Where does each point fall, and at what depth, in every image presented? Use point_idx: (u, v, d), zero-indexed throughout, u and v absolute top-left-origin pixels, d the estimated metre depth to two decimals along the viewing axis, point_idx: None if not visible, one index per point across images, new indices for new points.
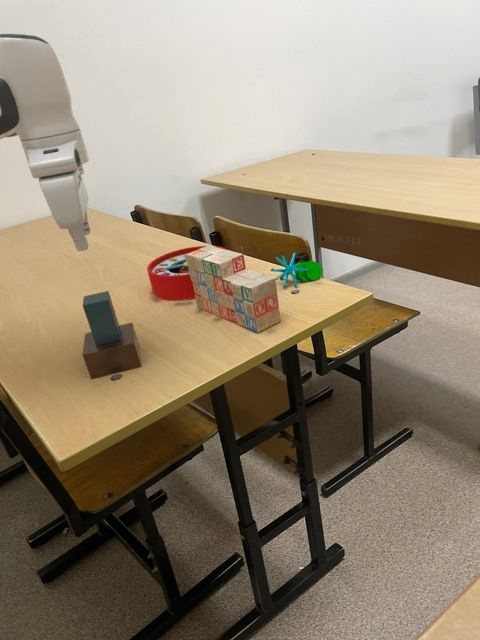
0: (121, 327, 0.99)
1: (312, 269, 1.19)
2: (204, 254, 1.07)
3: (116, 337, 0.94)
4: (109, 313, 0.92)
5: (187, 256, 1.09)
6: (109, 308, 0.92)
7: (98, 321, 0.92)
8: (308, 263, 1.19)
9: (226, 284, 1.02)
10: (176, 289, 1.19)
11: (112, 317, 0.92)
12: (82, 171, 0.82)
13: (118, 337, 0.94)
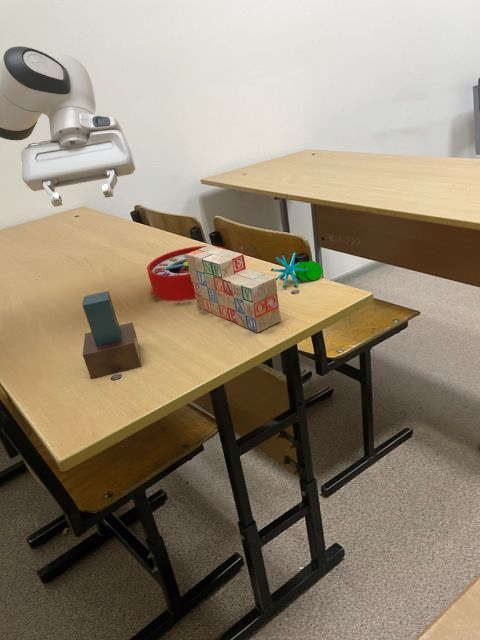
0: (121, 327, 0.99)
1: (312, 269, 1.19)
2: (204, 254, 1.07)
3: (116, 337, 0.94)
4: (109, 313, 0.92)
5: (187, 256, 1.09)
6: (109, 308, 0.92)
7: (98, 321, 0.92)
8: (308, 263, 1.19)
9: (226, 284, 1.02)
10: (176, 289, 1.19)
11: (112, 317, 0.92)
12: None
13: (118, 337, 0.94)
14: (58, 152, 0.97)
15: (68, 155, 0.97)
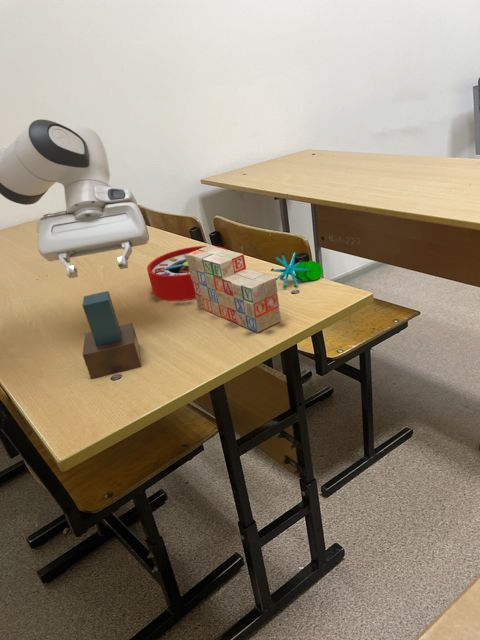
0: (121, 327, 0.99)
1: (312, 269, 1.19)
2: (204, 254, 1.07)
3: (116, 337, 0.94)
4: (109, 313, 0.92)
5: (187, 256, 1.09)
6: (109, 308, 0.92)
7: (98, 321, 0.92)
8: (308, 263, 1.19)
9: (226, 284, 1.02)
10: (176, 289, 1.19)
11: (112, 317, 0.92)
12: None
13: (118, 337, 0.94)
14: (74, 224, 0.99)
15: (83, 227, 0.98)
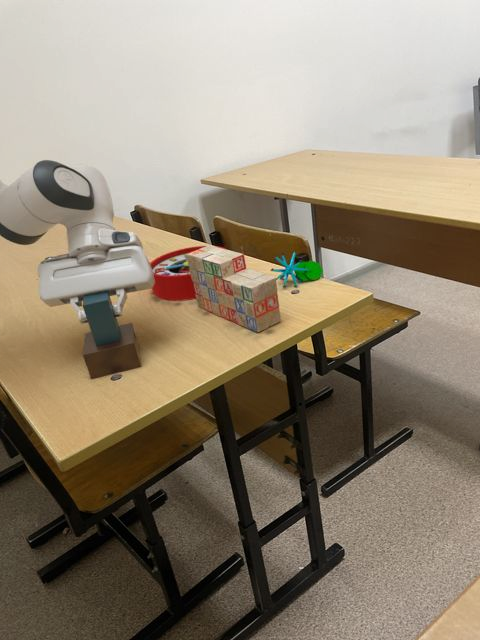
0: (121, 327, 0.99)
1: (312, 269, 1.19)
2: (204, 253, 1.07)
3: (116, 337, 0.94)
4: (109, 313, 0.92)
5: (188, 256, 1.09)
6: (109, 308, 0.92)
7: (98, 321, 0.92)
8: (308, 263, 1.19)
9: (226, 284, 1.02)
10: (176, 289, 1.19)
11: (112, 317, 0.92)
12: None
13: (118, 337, 0.94)
14: (76, 268, 0.95)
15: (86, 272, 0.94)
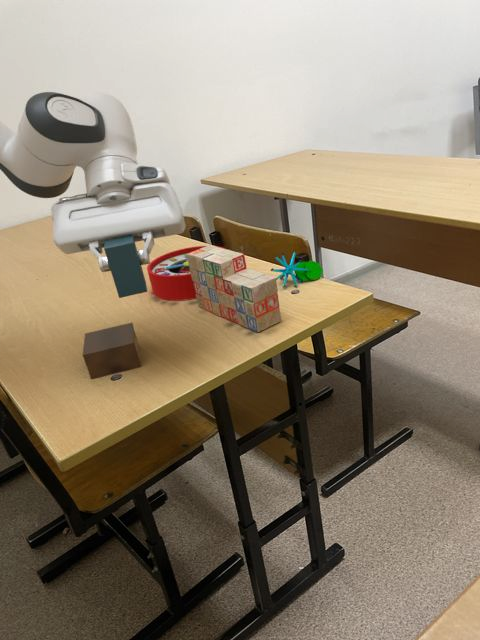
0: (121, 327, 0.99)
1: (312, 269, 1.19)
2: (204, 253, 1.07)
3: (142, 288, 0.82)
4: (135, 259, 0.79)
5: (188, 256, 1.09)
6: (135, 253, 0.79)
7: (122, 268, 0.79)
8: (308, 263, 1.19)
9: (227, 284, 1.02)
10: (176, 289, 1.19)
11: (138, 264, 0.80)
12: None
13: (144, 288, 0.82)
14: (96, 209, 0.82)
15: (108, 213, 0.82)
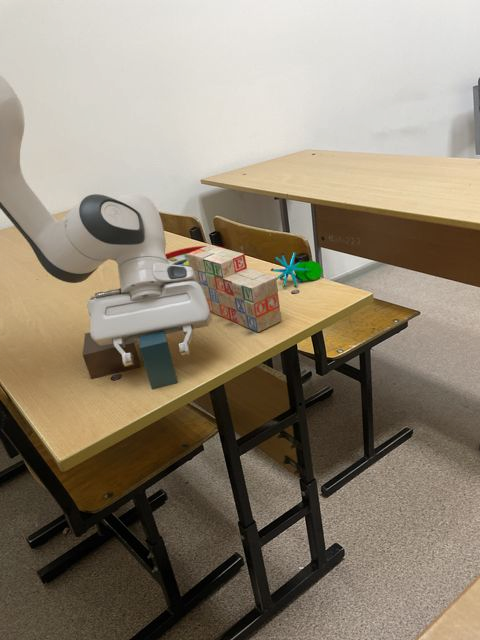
0: None
1: (312, 269, 1.19)
2: (205, 253, 1.07)
3: (172, 380, 0.88)
4: (167, 355, 0.86)
5: (188, 255, 1.09)
6: (167, 350, 0.86)
7: (155, 363, 0.86)
8: (308, 263, 1.19)
9: (227, 284, 1.02)
10: None
11: (170, 359, 0.87)
12: None
13: (175, 380, 0.88)
14: (129, 305, 0.89)
15: (140, 309, 0.88)
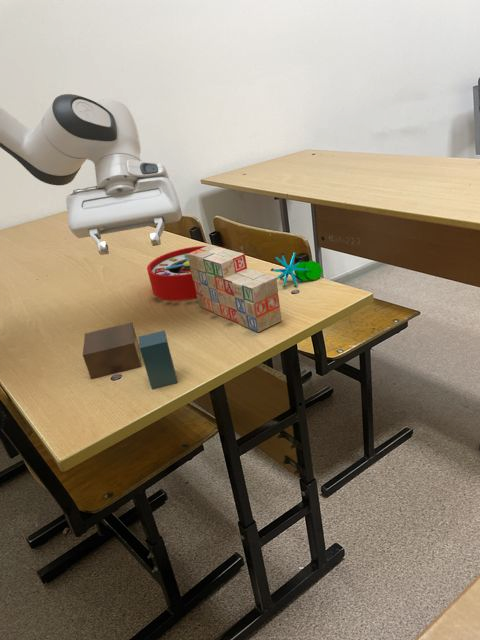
0: (121, 327, 0.99)
1: (312, 269, 1.19)
2: (205, 253, 1.07)
3: (172, 380, 0.88)
4: (167, 355, 0.86)
5: (189, 255, 1.09)
6: (167, 350, 0.86)
7: (155, 363, 0.86)
8: (308, 263, 1.19)
9: (227, 284, 1.02)
10: (176, 289, 1.19)
11: (170, 359, 0.87)
12: None
13: (175, 380, 0.88)
14: (105, 199, 0.95)
15: (115, 202, 0.95)
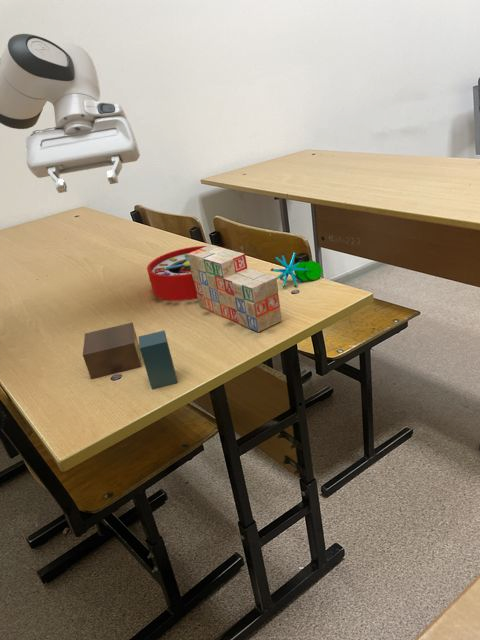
0: (121, 327, 0.99)
1: (312, 269, 1.19)
2: (205, 253, 1.07)
3: (172, 380, 0.88)
4: (167, 355, 0.86)
5: (189, 255, 1.09)
6: (167, 350, 0.86)
7: (155, 363, 0.86)
8: (308, 263, 1.19)
9: (227, 283, 1.02)
10: (176, 289, 1.19)
11: (170, 359, 0.87)
12: None
13: (175, 380, 0.88)
14: (63, 138, 0.98)
15: (73, 142, 0.97)
